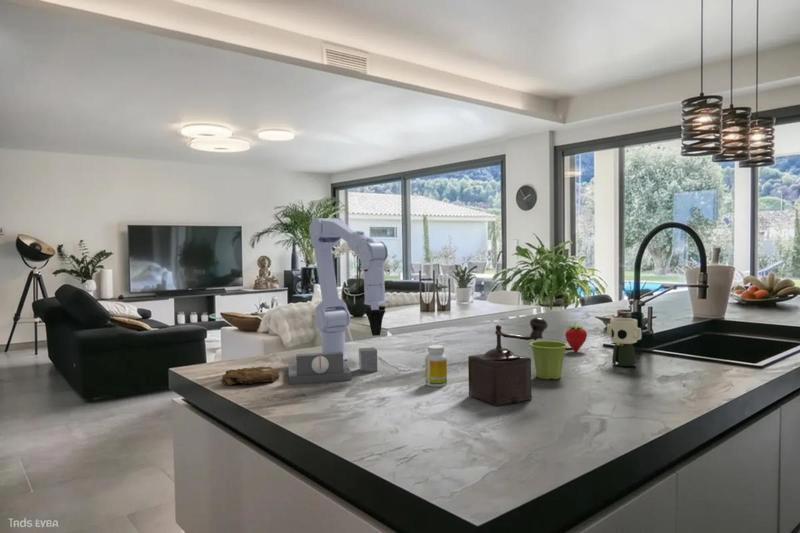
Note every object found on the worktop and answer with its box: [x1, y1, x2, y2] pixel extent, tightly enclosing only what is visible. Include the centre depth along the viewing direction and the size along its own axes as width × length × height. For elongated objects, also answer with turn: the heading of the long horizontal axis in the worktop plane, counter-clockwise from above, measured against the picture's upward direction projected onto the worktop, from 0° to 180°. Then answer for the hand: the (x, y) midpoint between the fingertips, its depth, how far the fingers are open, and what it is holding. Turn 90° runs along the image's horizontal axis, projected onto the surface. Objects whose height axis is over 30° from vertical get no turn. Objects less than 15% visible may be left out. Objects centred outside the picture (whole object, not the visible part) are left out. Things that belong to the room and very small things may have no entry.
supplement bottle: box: [424, 344, 448, 388], centre depth 136 cm, size 5×5×10 cm
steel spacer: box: [358, 346, 378, 373], centre depth 154 cm, size 4×4×6 cm
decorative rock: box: [219, 366, 280, 386], centre depth 143 cm, size 11×4×15 cm
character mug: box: [606, 317, 642, 367], centre depth 153 cm, size 11×7×13 cm, turn 31°
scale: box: [288, 351, 352, 385], centre depth 150 cm, size 18×16×7 cm
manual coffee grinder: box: [467, 317, 548, 407], centre depth 124 cm, size 16×11×18 cm
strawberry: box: [564, 323, 588, 352], centre depth 174 cm, size 6×8×10 cm
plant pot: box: [529, 340, 568, 380], centre depth 141 cm, size 9×9×9 cm
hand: (376, 333), depth 153 cm, fingers open, 7 cm apart
